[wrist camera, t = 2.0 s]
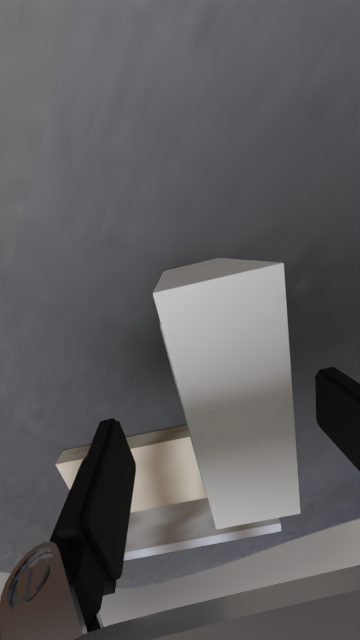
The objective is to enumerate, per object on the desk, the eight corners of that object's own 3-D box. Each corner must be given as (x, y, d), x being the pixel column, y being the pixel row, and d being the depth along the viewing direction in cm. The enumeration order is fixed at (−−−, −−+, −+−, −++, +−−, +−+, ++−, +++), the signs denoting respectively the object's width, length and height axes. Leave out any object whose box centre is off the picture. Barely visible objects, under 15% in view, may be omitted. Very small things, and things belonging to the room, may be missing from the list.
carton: (218, 257, 16) (283, 263, 7) (240, 392, 20) (300, 513, 11) (161, 271, 17) (146, 294, 7) (193, 402, 20) (212, 530, 11)
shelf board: (251, 411, 21) (272, 454, 16) (261, 481, 24) (281, 533, 20) (63, 450, 22) (34, 501, 17) (97, 514, 25) (80, 571, 20)
